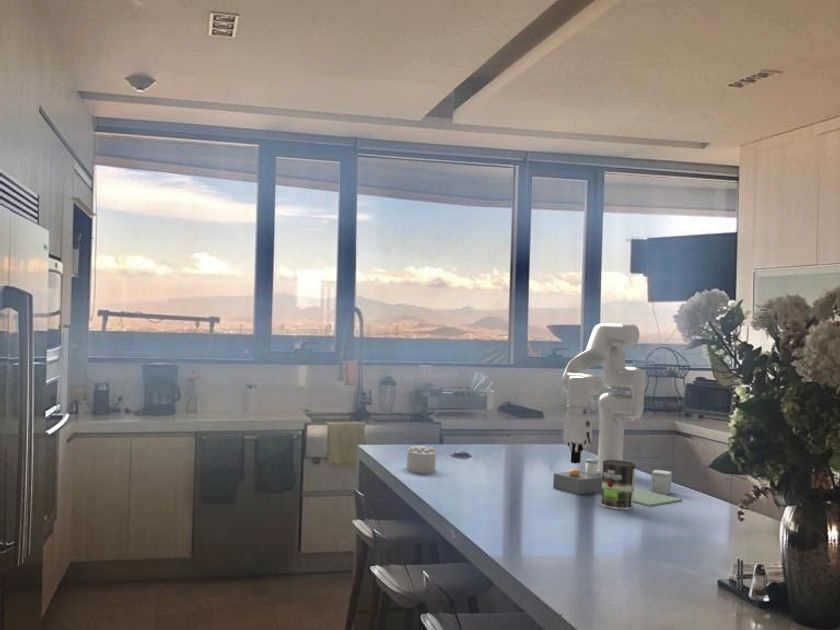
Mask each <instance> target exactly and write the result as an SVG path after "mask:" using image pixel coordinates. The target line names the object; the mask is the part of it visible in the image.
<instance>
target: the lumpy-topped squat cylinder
mask: <svg viewBox="0 0 840 630" xmlns="http://www.w3.org/2000/svg"><path fill="white" fill-rule="evenodd" d="M436 458H437V455H436V451H435V448H434V447H432V446H431V447H428V446H426V445H421V446H420V445H414V446H411V447H409V448H408V449H407V453H406V470H407V471H408V472H412V473H415V474H433V473H434V472H436Z"/></svg>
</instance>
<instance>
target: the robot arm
mask: <svg viewBox="0 0 840 630" xmlns="http://www.w3.org/2000/svg"><path fill="white" fill-rule="evenodd" d="M640 335H641V333H640V330H639V327H638V326H637V325H635V324H632V323H631V324H630V323H615V322H612V323H610V322H605V323H598V324H595V326H593V328H592V331H591V334H590V335H589V339H588V342H587V345H586V347H585V350H584V351H582V352H581V353H579V354H577V355H576V356H574V357H573V358H572V359H571V360H570V361H569V362H568V363H567V365H566V366H565V369H564V372H563V375H562V377H561V378H562V379H561V388H562V390H563V391H564V392H565V393H567V395H566V397H567V398H566V401H567V402H566V404H567V405H566V413H565V416H564V421H563V427H562V437H563V438H562V439H563V443H564V444H565V445H567V447H569V451H570V463H572V464H580V463H581V458H582V452H583V450H584V449H589V448H590V444H592V441H593V425H592V419H591V415H589V414H590V413H591V409H589V408H590V396H597V395H598V394H600V393H601V391H602V389H603V386H604V387H605V388H606V389H610V390H616V391H617V390H619V391H627V392H630V393H623V392H611V391H610V392H604V393H602V394H600V395H599V397H598V400H597V401H598V402H597V403H598V404H597V405H598V414H599V415H598V417H599V430H598V448H597V449H598V450H597V453H598V454H597V460H598V472H600V473H603V461H605V460H619V461H624V460H623V454H624V436H625V435H624V433H625V432H624V431H625V430H624V429H625V428H624V426H623V423H622V422H621V420H620V419H619V418H624V419H632V420H633V419H636V420H637V419H640V418H641V417H642V416H643V414H644V404H645V401H644V398H645V375H644V372H643V370H642V368H640V367H637V366H627V365H626V352H625V350H624V348H631V347H634V346H636V345H637V344H638V342H639V340H640ZM601 365H603V366H602V378H601V377H600V376H599V375H598V374H594V373H593V374H591V373H582V371H584V370H587V369H591V368H594V367H598V366H601ZM626 462H629V461H628V460H626Z"/></svg>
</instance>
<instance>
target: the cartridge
mask: <svg viewBox="0 0 840 630" xmlns="http://www.w3.org/2000/svg"><path fill="white" fill-rule="evenodd" d="M584 470H585V474H587V475H591V476H595V475H598V459H595V458H585V468H584Z"/></svg>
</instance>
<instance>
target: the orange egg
mask: <svg viewBox="0 0 840 630" xmlns="http://www.w3.org/2000/svg"><path fill="white" fill-rule="evenodd" d="M580 471H581V470H580V469H575V468H571V469H569V470H568V472H569V474H570V475H571V476H573V477H577V476H578V475H580Z"/></svg>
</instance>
